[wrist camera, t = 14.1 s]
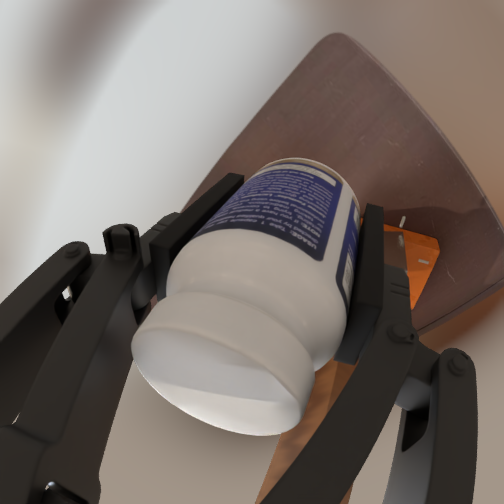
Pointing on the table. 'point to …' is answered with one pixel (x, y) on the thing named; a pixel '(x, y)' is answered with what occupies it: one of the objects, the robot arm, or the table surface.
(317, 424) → the brown wooden square column
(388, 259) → the steel brick red tip
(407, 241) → the orange flat square block
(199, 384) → the pill bottle
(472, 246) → the table surface
